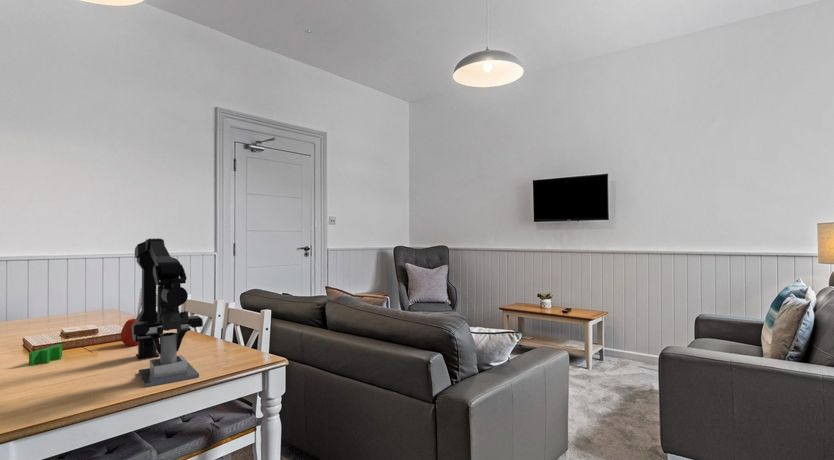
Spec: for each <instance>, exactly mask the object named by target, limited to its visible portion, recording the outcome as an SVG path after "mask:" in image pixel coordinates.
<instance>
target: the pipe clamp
mask: <svg viewBox="0 0 834 460" xmlns="http://www.w3.org/2000/svg"><path fill="white" fill-rule="evenodd" d="M62 357H63V343H61V344H60V343H59V344H56V345H52V346H49V347H44V348H41V349H37V350H33V351H30V352H28V365H29V367H33V366H36V365H39V364H50V362H51V361H58V360H62Z"/></svg>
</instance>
